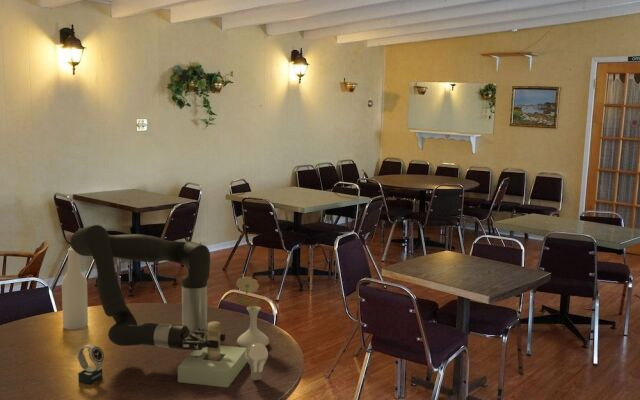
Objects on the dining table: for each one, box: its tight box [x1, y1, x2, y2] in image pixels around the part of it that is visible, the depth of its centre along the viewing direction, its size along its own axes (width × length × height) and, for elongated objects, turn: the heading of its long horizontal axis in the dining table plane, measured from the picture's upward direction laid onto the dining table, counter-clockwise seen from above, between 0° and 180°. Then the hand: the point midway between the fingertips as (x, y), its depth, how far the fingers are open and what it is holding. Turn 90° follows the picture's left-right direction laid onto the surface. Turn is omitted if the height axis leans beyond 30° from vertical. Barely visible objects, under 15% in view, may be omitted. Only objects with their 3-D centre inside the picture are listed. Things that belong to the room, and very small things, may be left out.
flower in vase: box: [235, 276, 270, 348], centre depth 229 cm, size 13×11×25 cm
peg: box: [207, 321, 221, 361], centre depth 206 cm, size 4×4×16 cm
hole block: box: [177, 344, 248, 388], centre depth 207 cm, size 20×16×5 cm
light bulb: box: [246, 343, 269, 382], centre depth 201 cm, size 7×7×12 cm
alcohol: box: [61, 247, 89, 331], centre depth 243 cm, size 9×9×30 cm
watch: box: [77, 343, 105, 386], centre depth 198 cm, size 6×8×11 cm
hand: (221, 340), depth 206 cm, fingers open, 6 cm apart
